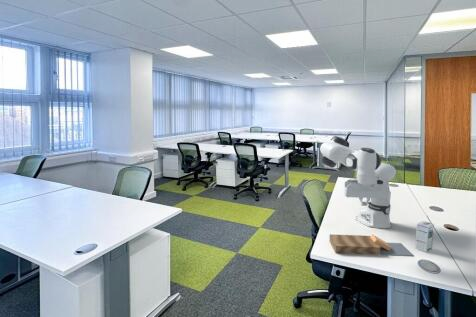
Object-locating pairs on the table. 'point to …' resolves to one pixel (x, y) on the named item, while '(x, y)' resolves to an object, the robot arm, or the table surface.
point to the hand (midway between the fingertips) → (364, 205)
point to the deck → (354, 244)
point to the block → (380, 242)
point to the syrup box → (424, 236)
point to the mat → (395, 250)
